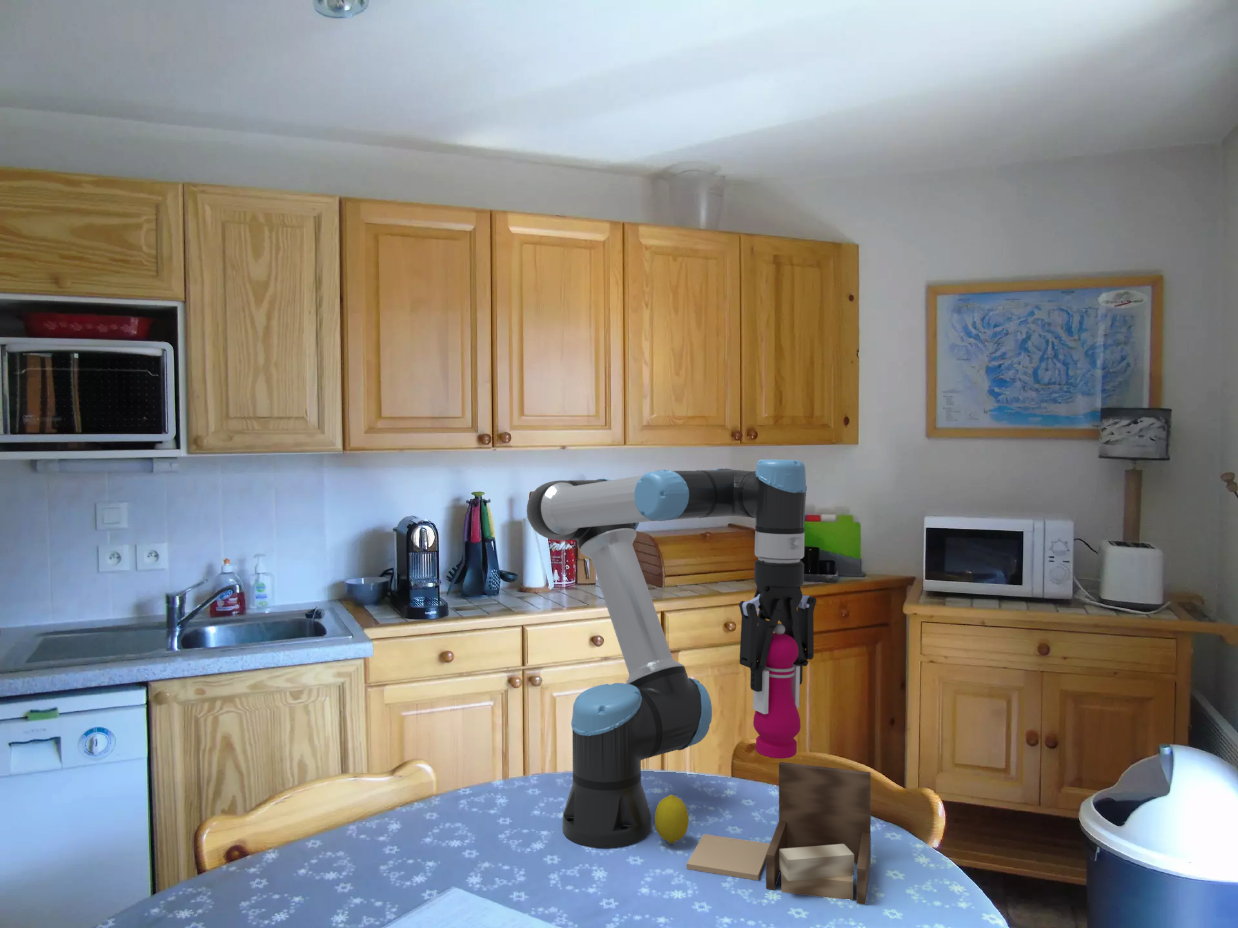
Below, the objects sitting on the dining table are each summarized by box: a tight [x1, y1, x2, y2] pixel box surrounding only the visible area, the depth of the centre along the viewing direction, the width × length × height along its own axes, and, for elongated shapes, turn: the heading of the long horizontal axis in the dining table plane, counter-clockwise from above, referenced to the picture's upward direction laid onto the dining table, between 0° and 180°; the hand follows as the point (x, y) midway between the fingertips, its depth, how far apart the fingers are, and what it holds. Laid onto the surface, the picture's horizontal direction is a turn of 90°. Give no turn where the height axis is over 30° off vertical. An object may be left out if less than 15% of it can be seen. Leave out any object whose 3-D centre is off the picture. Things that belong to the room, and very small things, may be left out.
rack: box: [765, 761, 872, 905], centre depth 128 cm, size 14×14×14 cm
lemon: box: [654, 794, 690, 845], centre depth 139 cm, size 6×6×8 cm
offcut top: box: [779, 844, 855, 881], centre depth 124 cm, size 10×4×3 cm, turn 99°
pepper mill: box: [752, 622, 802, 760], centre depth 132 cm, size 7×7×20 cm
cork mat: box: [686, 833, 770, 881], centre depth 134 cm, size 11×11×1 cm
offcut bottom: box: [780, 872, 854, 901], centre depth 124 cm, size 10×4×3 cm, turn 77°
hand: (776, 707), depth 132 cm, fingers closed on pepper mill, 5 cm apart
